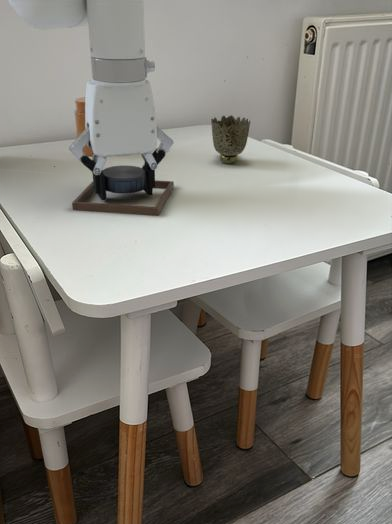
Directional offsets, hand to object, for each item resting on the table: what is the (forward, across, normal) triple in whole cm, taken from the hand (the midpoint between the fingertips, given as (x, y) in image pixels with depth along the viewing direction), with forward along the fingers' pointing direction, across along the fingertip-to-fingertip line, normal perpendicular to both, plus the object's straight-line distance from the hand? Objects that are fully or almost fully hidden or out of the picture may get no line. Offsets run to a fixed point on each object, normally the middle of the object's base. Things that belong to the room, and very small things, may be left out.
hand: (125, 194), depth 89 cm
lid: (-3, 0, 0) cm, 3 cm away
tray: (+2, 0, 0) cm, 2 cm away
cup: (+2, -26, -16) cm, 30 cm away
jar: (+2, -2, -32) cm, 32 cm away
